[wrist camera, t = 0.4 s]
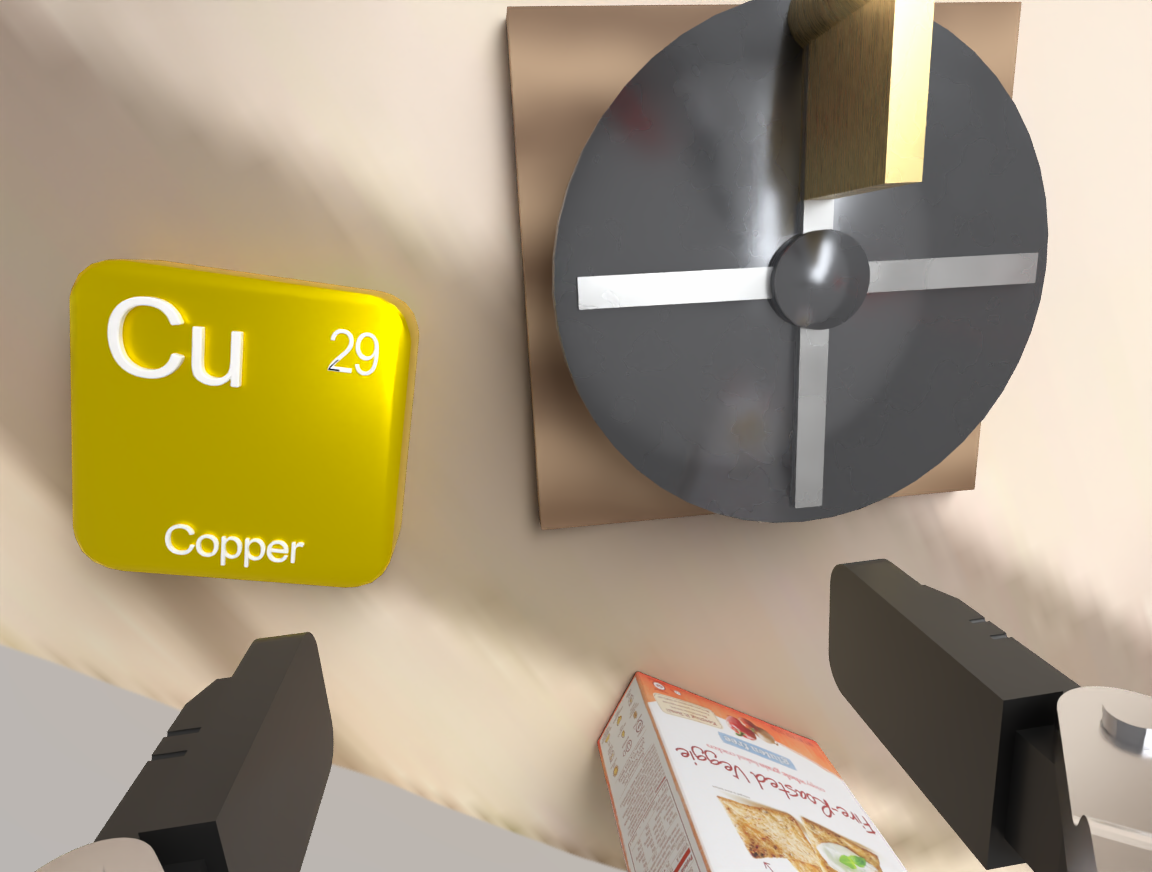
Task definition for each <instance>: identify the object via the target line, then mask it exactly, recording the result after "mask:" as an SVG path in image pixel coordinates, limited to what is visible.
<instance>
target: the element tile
mask: <svg viewBox="0 0 1152 872" xmlns="http://www.w3.org/2000/svg"><path fill="white" fill-rule="evenodd" d="M418 343H419V330H418V325H417V322H416V319H415V316H414V313H413V312H412V311H411V309H410V308H409V307H408V306H407V304H406V303H405V302H403V301H402V300H400V299H398V298H397V297H395V296H393V295H391V294H388V293H385V292H381V291H375V290H368V289H361V288H354V287H347V286H340V285H333V284H325V283H318V282H311V281H304V280H297V279H290V278H283V277H276V276H269V275H261V274H254V273H247V272H240V271H233V270H226V269H219V268H212V267H204V266H197V265H190V264H183V263H176V262H169V261H162V260H131V259H108V260H104V261H101V262H97V263H93V264H91V265H90V266H88V267H87V268H86V269H85V270H83V271H82V272H81V273H80V274H79V275H78V277H77V279H76V281H75V283H74V285H73V287H72V290H71V294H70V361H71V430H72V499H73V529H74V534H75V538H76V540H77V542H78V544H79V546H80V548H81V550H82V552H83V553H85V554H86V555H87V556H88V557H89V558H90V559H91V560H92V561H94V562H96V563H98V564H100V565H103V566H105V567H107V568H111V569H116V570H121V571H132V572H145V573H159V574H172V575H185V576H199V577H212V578H225V579H239V580H252V581H265V582H279V583H292V584H305V585H319V586H332V587H345V588H346V587H358V586H361V585H365V584H368V583H372V582H373V581H374V580H376V579H377V578H378V577H379V576H381V575H382V574H383V573H384V571H385V570H386V568H387V566H388V564H389V563H390V560H391V557H392V554H393V551H394V548H395V545H396V542H397V539H398V536H399V532H400V529H401V522H402V511H403V501H404V490H405V480H406V469H407V459H408V448H409V437H410V427H411V416H412V406H413V395H414V385H415V374H416V364H417V353H418Z"/></svg>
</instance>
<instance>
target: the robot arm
mask: <svg viewBox="0 0 1152 872" xmlns="http://www.w3.org/2000/svg"><path fill="white" fill-rule="evenodd" d="M829 661H830V667H831V671H832V674H833V677H834V680H835V682H836V684H837V686H838V688H839V690H840V692H841V693H842V695H843V696H844V697H845V698H846V700H847V701H848V702H849V703H850V704H851V706H852V707H853V708H854V709H855V710H856V712H857V713H858V714H859V715H860V717H861V718H862V719H863V720H864V721H865V723H866V724H867V725H868V726H869V728H870V729H871V730H872V731H873V732H874V734H875V735H876V736H877V737H878V738H879V740H880V741H881V742H882V743H883V745H884V746H885V747H886V748H887V749H888V751H889V752H890V753H891V754H892V756H893V757H894V758H895V759H896V760H897V762H898V763H899V764H900V765H901V766H902V768H903V769H904V770H905V771H906V773H907V774H908V775H909V776H910V777H911V779H912V780H913V781H914V782H915V784H916V785H917V786H918V787H919V788H920V790H921V791H922V792H923V793H924V794H925V796H926V797H927V798H928V799H929V801H930V802H931V803H932V804H933V805H934V807H935V808H936V809H937V810H938V812H939V813H940V814H941V815H942V816H943V818H944V819H945V820H946V821H947V823H948V824H949V825H950V826H951V827H952V829H953V830H954V831H955V832H956V833H957V835H958V836H959V837H960V838H961V840H962V841H963V842H964V843H965V844H966V846H967V847H968V848H969V849H970V851H971V852H972V853H973V854H974V855H975V857H976V858H977V859H978V860H979V861H980V863H981V864H982V865H983V866H984V868H985V869H986V870H989V869H994V868H1000V867H1005V866H1011V865H1016V864H1021V863H1027V864H1028V865H1029V866H1030V867H1031V869H1032V870H1033V871H1034V872H1152V697H1150V696H1147V695H1144V694H1140V693H1137V692H1133V691H1129V690H1125V689H1119V688H1113V687H1102V686H1087V687H1081V686H1079V685H1078V684H1076V683H1075V682H1074V681H1072V680H1071V679H1069V678H1068V677H1067V676H1065V675H1064V674H1062V673H1061V672H1060V671H1058V670H1057V669H1055V668H1054V667H1053V666H1051V665H1050V664H1048V663H1047V662H1046V661H1044V660H1043V659H1042V658H1040V657H1039V656H1037V655H1036V654H1035V653H1033V652H1032V651H1030V650H1029V649H1028V648H1026V647H1025V646H1023V645H1022V644H1021V643H1019V642H1018V641H1016V640H1015V639H1014V638H1012V637H1010V638H1008V637H1007V635H1006V633H1005V632H1004V631H1003V630H1001V629H1000V628H998V627H997V626H996V625H994V624H993V623H991V622H990V621H988V622H986V621H985V618H984V617H983V616H982V615H980V614H979V613H977V612H976V611H975V610H973V609H972V608H970V607H969V606H968V605H966V604H965V603H964V602H962V601H961V600H959V599H957V598H955V597H953V596H950V595H948V594H945V593H943V592H940V591H938V590H935V589H933V588H931V587H928V586H926V585H921V584H919V583H918V582H917V581H915V580H914V579H913V578H911V577H910V576H909V575H907V574H906V573H905V572H903V571H902V570H901V569H899V568H898V567H897V566H895V565H894V564H893V563H891V562H890V561H888V560H886V559H877V560H869V561H861V562H854V563H846V564H839V565H836V566H835V567H834V569H833V571H832V574H831V580H830V617H829ZM332 758H333V727H332V720H331V715H330V710H329V705H328V699H327V694H326V689H325V684H324V679H323V673H322V668H321V663H320V658H319V653H318V648H317V644H316V641H315V638H314V636H313V635H312V634H311V633H310V632H306V633H299V634H291V635H283V636H275V637H268V638H260V639H256V640H255V641H254V642H253V643H252V644H251V646H250V648H249V649H248V651H247V653H246V654H245V656H244V658H243V659H242V661H241V663H240V664H239V666H238V668H237V669H236V671H235V673H234V674H233V676H232V677H230V678H222V679H216V680H215V681H214V682H213V683H211V684H210V685H209V686H208V687H207V688H205V689H204V690H203V691H202V692H200V693H199V694H198V695H197V696H195V697H194V698H193V699H192V700H191V701H189V702H188V703H187V704H186V705H185V706H184V708H183V709H182V711H181V712H180V714H179V715H178V717H177V718H176V720H175V721H174V723H173V724H172V726H171V727H170V729H169V730H168V735H167V737H164V738H163V739H162V741H161V742H160V744H159V745H158V747H157V748H156V750H155V751H154V753H153V754H152V760H151V761H148V762H147V763H146V765H145V766H144V768H143V769H142V771H141V772H140V774H139V775H138V777H137V778H136V780H135V781H134V783H133V784H132V786H131V787H130V789H129V790H128V792H127V793H126V795H125V796H124V798H123V799H122V801H121V802H120V803H119V805H118V806H117V808H116V809H115V811H114V813H113V814H112V815H111V817H110V819H109V820H108V821H107V823H106V824H105V826H104V828H103V829H102V830H101V832H100V833H99V835H98V837H97V838H96V839H95V841H94V843H91V844H87V845H85V846H82V847H80V848H77V849H74V850H72V851H70V852H68V853H66V854H64V855H62V856H60V857H58V858H56V859H54V860H52V861H51V862H49V863H47V864H46V865H44V866H42V867H41V868H39V869H38V870H36V871H35V872H300V870H301V866H302V863H303V859H304V856H305V853H306V850H307V846H308V843H309V839H310V836H311V833H312V830H313V826H314V823H315V820H316V816H317V813H318V809H319V806H320V803H321V799H322V796H323V793H324V790H325V786H326V783H327V780H328V776H329V773H330V769H331V765H332Z"/></svg>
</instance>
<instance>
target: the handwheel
mask: <svg viewBox="0 0 1152 872" xmlns="http://www.w3.org/2000/svg"><path fill="white" fill-rule="evenodd" d="M933 14H934V0H752V1H749V2H746V3H744V4H741V5H739V6H736V7H734V8H731V9H729V10H726V11H724V12H721V13H719V14H716V15H714V16H712V17H711V18H709V19H707V20H706V21H704V22H702V23H700V24H699V25H697V26H695V27H693V28H692V29H690V30H688V31H687V32H685V33H683V34H682V35H680V36H679V37H678V38H677V39H675V40H674V41H673V42H671V43H670V44H669V45H668V46H666V47H665V48H664V49H663V50H661V51H660V52H659V53H657V54H656V55H655V56H654V57H652V58H651V59H650V60H649V61H648V62H647V64H646V65H645V66H644V67H643V68H642V69H641V70H640V71H639V72H638V73H637V74H636V75H635V76H634V77H633V78H632V79H631V80H630V81H629V82H628V83H627V84H626V85H625V86H624V88H623V89H622V90H621V92H620V93H619V94H618V96H617V97H616V98H615V100H614V101H613V102H612V104H611V105H610V106H609V108H608V109H607V110H606V112H605V113H604V114H603V116H602V117H601V118H600V120H599V121H598V123H597V125H596V126H595V128H594V130H593V132H592V133H591V135H590V137H589V139H588V141H587V142H586V144H585V146H584V148H583V149H582V151H581V153H580V155H579V158H578V160H577V163H576V165H575V167H574V170H573V172H572V175H571V177H570V180H569V182H568V185H567V187H566V191H565V194H564V198H563V202H562V206H561V209H560V213H559V217H558V221H557V226H556V233H555V241H554V248H553V256H552V298H553V307H554V315H555V323H556V329H557V333H558V337H559V341H560V345H561V349H562V353H563V357H564V360H565V363H566V365H567V368H568V370H569V373H570V375H571V378H572V380H573V383H574V385H575V388H576V390H577V392H578V393H579V395H580V397H581V399H582V401H583V402H584V404H585V406H586V408H587V409H588V411H589V413H590V415H591V416H592V418H593V419H594V421H595V422H596V423H597V425H598V426H599V427H600V429H601V430H602V431H603V433H604V434H605V435H606V437H607V438H608V439H609V441H610V442H611V443H612V444H613V446H614V447H615V448H616V449H617V450H618V451H619V452H620V453H621V454H622V455H623V456H624V457H625V458H626V459H627V460H628V461H629V462H630V463H631V464H632V465H633V466H634V467H635V468H636V469H637V470H638V471H640V472H641V473H642V474H644V475H645V476H646V477H648V478H649V479H650V480H652V481H653V482H654V483H656V484H657V485H658V486H659V487H661V488H662V489H664V490H666V491H668V492H670V493H672V494H673V495H675V496H677V497H679V498H681V499H682V500H684V501H686V502H688V503H691V504H693V505H696V506H698V507H701V508H703V509H706V510H709V511H711V512H714V513H717V514H722V515H726V516H730V517H734V518H738V519H743V520H751V521H762V522H772V523H777V522H804V521H810V520H816V519H822V518H828V517H833V516H837V515H840V514H844V513H847V512H851V511H854V510H858V509H861V508H863V507H866V506H868V505H870V504H873V503H875V502H877V501H880V500H882V499H884V498H887V497H889V496H891V495H892V494H894V493H896V492H898V491H899V490H901V489H903V488H905V487H906V486H908V485H910V484H912V483H913V482H915V481H917V480H918V479H919V478H921V477H922V476H923V475H925V474H926V473H927V472H929V471H930V470H931V469H933V468H934V467H936V466H937V465H938V464H940V463H941V462H942V461H943V460H944V459H945V458H946V457H947V456H948V455H950V454H951V453H952V452H953V451H954V450H955V449H956V448H957V447H958V446H959V445H960V444H961V443H963V442H964V441H965V439H966V438H967V437H968V436H969V435H970V434H971V432H972V431H973V430H974V429H975V428H976V427H977V426H978V424H979V423H980V422H981V421H982V420H983V419H984V418H985V416H986V415H987V413H988V412H989V410H990V409H991V407H992V406H993V405H994V403H995V402H996V400H997V399H998V397H999V396H1000V395H1001V393H1002V392H1003V390H1004V388H1005V386H1006V385H1007V383H1008V381H1009V379H1010V377H1011V375H1012V374H1013V372H1014V370H1015V368H1016V366H1017V364H1018V363H1019V360H1020V358H1021V355H1022V353H1023V351H1024V348H1025V346H1026V343H1027V341H1028V338H1029V336H1030V334H1031V331H1032V327H1033V324H1034V320H1035V317H1036V314H1037V310H1038V307H1039V303H1040V300H1041V294H1042V288H1043V282H1044V276H1045V271H1046V261H1047V243H1048V225H1047V209H1046V197H1045V192H1044V187H1043V181H1042V176H1041V171H1040V166H1039V163H1038V160H1037V157H1036V153H1035V150H1034V147H1033V144H1032V141H1031V138H1030V135H1029V133H1028V131H1027V128H1026V126H1025V124H1024V122H1023V120H1022V118H1021V116H1020V114H1019V112H1018V110H1017V107H1016V105H1015V104H1014V102H1013V101H1012V99H1011V98H1010V96H1009V94H1008V93H1007V91H1006V90H1005V88H1004V87H1003V85H1002V84H1001V82H1000V81H999V79H998V78H997V76H996V75H995V74H994V73H993V72H992V71H991V70H990V68H989V67H988V66H987V65H986V64H985V63H984V62H983V61H982V59H981V58H980V57H979V56H978V55H977V54H976V53H975V52H974V51H973V50H972V49H971V48H970V47H968V46H967V45H966V44H965V43H964V42H962V41H961V40H960V39H959V38H958V37H956V36H955V35H954V34H953V33H952V32H950V31H949V30H948V29H946V28H944V27H943V26H941V25H939V24H938V23H936V22H934V21H933Z"/></svg>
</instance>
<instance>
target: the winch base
mask: <svg viewBox="0 0 1152 872" xmlns="http://www.w3.org/2000/svg"><path fill="white" fill-rule="evenodd" d="M736 6H739V5H631V6H521V7H507V16H506V21H507V36H508V51H509V66H510V81H511V96H512V111H513V126H514V141H515V156H516V171H517V186H518V202H519V217H520V232H521V247H522V262H523V277H524V292H525V307H526V322H527V337H528V352H529V367H530V382H531V397H532V413H533V428H534V443H535V458H536V473H537V488H538V503H539V518H540V524H541V529H542V530H547V529H558V528H569V527H579V526H590V525H601V524H611V523H622V522H633V521H643V520H654V519H664V518H675V517H686V516H696V515H707V514H717V513H714V512H711V511H709V510H706V509H703V508H701V507H698V506H696V505H693V504H691V503H688V502H686V501H684V500H682V499H681V498H679V497H677V496H675V495H673V494H672V493H670V492H668V491H666V490H664V489H662V488H661V487H659V486H658V485H657V484H656V483H654V482H653V481H652V480H650V479H649V478H648V477H646V476H645V475H644V474H642V473H641V472H640V471H638V470H637V469H636V468H635V467H634V466H633V465H632V464H631V463H630V462H629V461H628V460H627V459H626V458H625V457H624V456H623V455H622V454H621V453H620V452H619V451H618V450H617V449H616V448H615V447H614V446H613V444H612V443H611V442H610V441H609V439H608V438H607V437H606V435H605V434H604V433H603V431H602V430H601V429H600V427H599V426H598V425H597V423H596V422H595V421H594V419H593V418H592V416H591V415H590V413H589V411H588V409H587V408H586V406H585V404H584V402H583V401H582V399H581V397H580V395H579V393H578V392H577V390H576V388H575V385H574V383H573V380H572V378H571V375H570V373H569V370H568V368H567V365H566V363H565V360H564V357H563V353H562V349H561V345H560V341H559V337H558V333H557V329H556V323H555V315H554V307H553V298H552V256H553V248H554V241H555V233H556V226H557V221H558V217H559V213H560V209H561V206H562V202H563V198H564V194H565V191H566V187H567V185H568V182H569V180H570V177H571V175H572V172H573V170H574V167H575V165H576V163H577V160H578V158H579V155H580V153H581V151H582V149H583V148H584V146H585V144H586V142H587V141H588V139H589V137H590V135H591V133H592V132H593V130H594V128H595V126H596V125H597V123H598V121H599V120H600V118H601V117H602V116H603V114H604V113H605V112H606V110H607V109H608V108H609V106H610V105H611V104H612V102H613V101H614V100H615V98H616V97H617V96H618V94H619V93H620V92H621V90H622V89H623V88H624V86H625V85H626V84H627V83H628V82H629V81H630V80H631V79H632V78H633V77H634V76H635V75H636V74H637V73H638V72H639V71H640V70H641V69H642V68H643V67H644V66H645V65H646V64H647V62H648V61H649V60H650V59H651V58H652V57H654V56H655V55H656V54H657V53H659V52H660V51H661V50H663V49H664V48H665V47H666V46H668V45H669V44H670V43H671V42H673V41H674V40H675V39H677V38H678V37H679V36H680V35H682V34H683V33H685V32H687V31H688V30H690V29H692V28H693V27H695V26H697V25H699V24H700V23H702V22H704V21H706V20H707V19H709V18H711V17H712V16H714V15H716V14H719V13H721V12H724V11H726V10H729V9H731V8H734V7H736ZM1020 11H1021V2H960V3H934V14H933V21H934V22H936V23H938V24H939V25H941V26H943V27H944V28H946V29H948V30H949V31H950V32H952V33H953V34H954V35H955V36H956V37H958V38H959V39H960V40H961V41H962V42H964V43H965V44H966V45H967V46H968V47H970V48H971V49H972V50H973V51H974V52H975V53H976V54H977V55H978V56H979V57H980V58H981V59H982V61H983V62H984V63H985V64H986V65H987V66H988V67H989V68H990V70H991V71H992V72H993V73H994V74H995V75H996V76H997V78H998V79H999V81H1000V82H1001V84H1002V85H1003V87H1004V88H1005V90H1006V91H1007V93H1008V94H1009V96H1010V98H1011V99H1012V94H1013V84H1014V74H1015V63H1016V53H1017V43H1018V32H1019V22H1020ZM980 426H981V422H980V423H979V424H978V426H977V427H976V428H975V429H974V430H973V431H972V432H971V434H970V435H969V436H968V437H967V438H966V439H965V441H964V442H963V443H961V444H960V445H959V446H958V447H957V448H956V449H955V450H954V451H953V452H952V453H951V454H950V455H948V456H947V457H946V458H945V459H944V460H943V461H942V462H941V463H940V464H938V465H937V466H936V467H934V468H933V469H931V470H930V471H929V472H927V473H926V474H925V475H923V476H922V477H921V478H919V479H918V480H917V481H915V482H913V483H912V484H910V485H908V486H906V487H905V488H903V489H901V490H899V491H898V492H896V493H894V494H892V495H891V496H889V497H898V496H909V495H920V494H930V493H941V492H952V491H962V490H973V489H974V488H975V478H976V467H977V457H978V446H979V436H980ZM887 498H888V497H887ZM758 522H762V521H758Z"/></svg>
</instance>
